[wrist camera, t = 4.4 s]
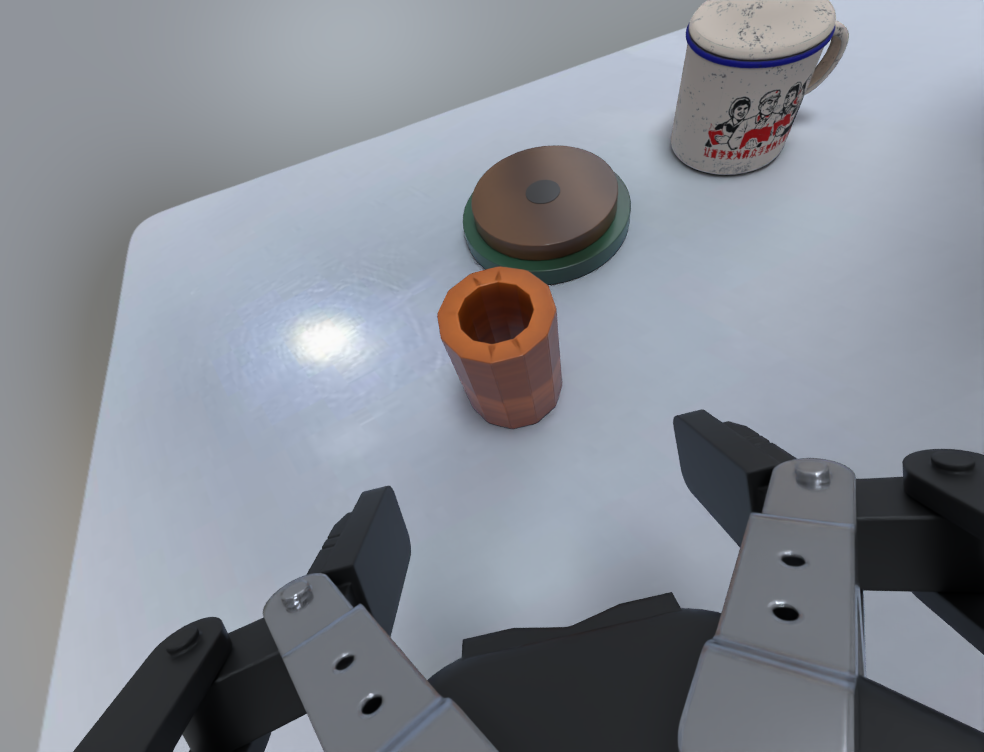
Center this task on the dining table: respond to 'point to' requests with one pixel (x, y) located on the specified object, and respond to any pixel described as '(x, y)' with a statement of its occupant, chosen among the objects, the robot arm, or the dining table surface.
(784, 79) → the teacup with lid
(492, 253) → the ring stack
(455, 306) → the orange hollow cylinder
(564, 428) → the dining table surface
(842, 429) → the dining table surface
